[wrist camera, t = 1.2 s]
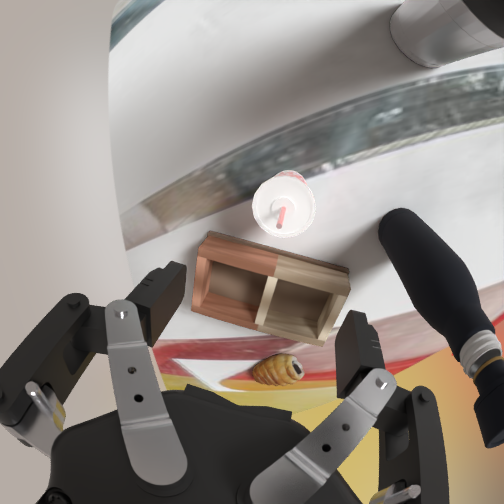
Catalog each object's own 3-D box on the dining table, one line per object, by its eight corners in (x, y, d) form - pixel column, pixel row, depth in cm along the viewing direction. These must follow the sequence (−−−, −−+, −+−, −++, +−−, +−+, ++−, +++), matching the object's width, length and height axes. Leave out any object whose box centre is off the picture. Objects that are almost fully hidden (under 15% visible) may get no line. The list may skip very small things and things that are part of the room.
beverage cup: (274, 217, 36) (257, 269, 24) (257, 173, 34) (228, 202, 22) (319, 203, 34) (327, 249, 22) (303, 157, 32) (303, 177, 20)
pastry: (264, 381, 51) (261, 396, 48) (245, 361, 49) (241, 376, 46) (307, 369, 48) (306, 385, 44) (290, 347, 46) (288, 363, 42)
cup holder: (209, 230, 39) (197, 245, 34) (348, 268, 37) (353, 287, 33) (200, 293, 44) (189, 311, 39) (322, 326, 42) (322, 348, 38)
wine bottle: (371, 245, 35) (445, 466, 9) (387, 201, 32) (527, 397, 6) (410, 257, 35) (502, 451, 8) (426, 215, 32) (566, 389, 5)
